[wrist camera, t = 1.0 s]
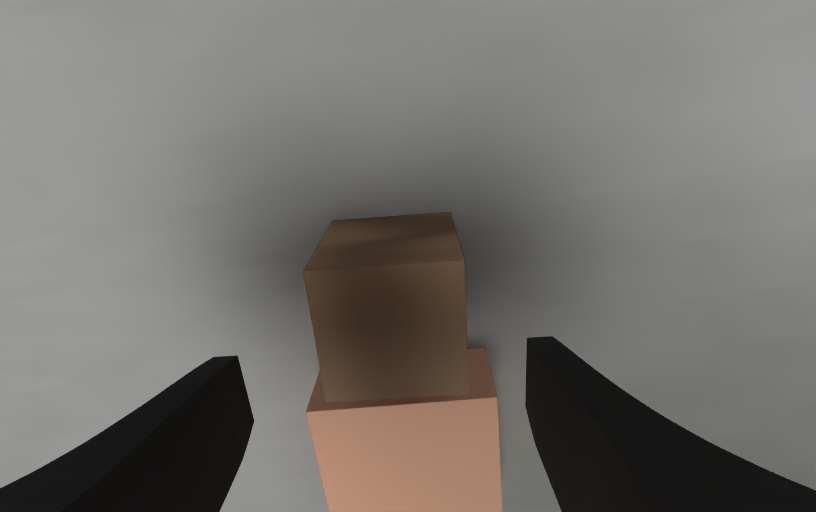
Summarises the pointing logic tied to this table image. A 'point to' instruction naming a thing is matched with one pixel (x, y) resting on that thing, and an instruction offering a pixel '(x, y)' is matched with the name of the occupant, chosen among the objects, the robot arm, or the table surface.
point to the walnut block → (389, 308)
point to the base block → (411, 449)
